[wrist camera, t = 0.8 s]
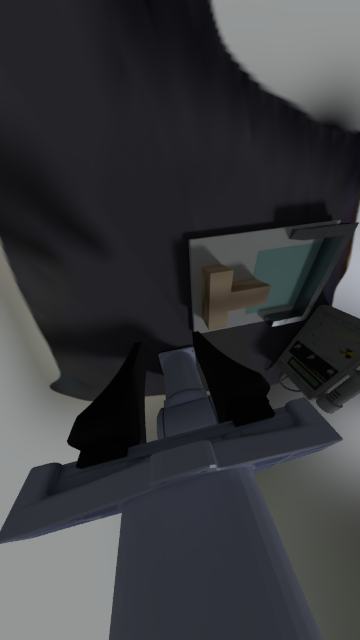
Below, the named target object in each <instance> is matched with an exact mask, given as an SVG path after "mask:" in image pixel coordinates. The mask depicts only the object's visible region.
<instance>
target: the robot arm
mask: <svg viewBox="0 0 360 640" xmlns="http://www.w3.org/2000/svg"><path fill="white" fill-rule="evenodd" d="M192 335H193V346H192V347H187V348H182V349H177V350H172V351H167V352H162V353H159V354H158V357H159V360H160V363H161V367H162V370H163V374H164V383H165V395H166V400H165V401H164V408H161V409H160V411H159V413H158V416H157V436H158V440H155V441H152V442H148V443H146V429H145V428H146V427H145V379H146V366H147V364H146V354H145V351H144V349H143V346H142V343H141V342H139V343H135V344H134V345H133V347H132V349H131V351H130V353H129V355H128V357H127V359H126V360H125V362H124V364H123V365H122V367H121V368H120V370H119V371H118V373H117V374H116V376H115V377H114V378H113V380H112V381H111V382H110V383H109V385H108V386H107V387H106V388H105V389H104V391H103V392H102V393H101V394H100V395H99V396H98V397H97V398H96V399H95V400H94V401H93V402H92V403H91V404H90V405H89V406H88V407H87V408H86V409H85V410H84V411H83V412H82V413H81V414H80V415H78V416H77V418H76V420H75V422H74V425H73V427H72V430H71V432H70V435H69V437H68V440H67V443H68V444H69V445H70V446H71V447H74V448H76V449H78V450H80V455H79V458H78V461H76V462H72V463H68V464H64V465H62V464H59V463H49V464H45V465H42V466H38V467H34V468H32V469H31V471H30V473H29V475H28V477H27V479H26V481H25V483H24V485H23V487H22V489H21V491H20V493H19V495H18V497H17V499H16V501H15V503H14V505H13V507H12V509H11V511H10V513H9V515H8V517H7V519H6V521H5V523H4V525H3V527H2V529H1V531H0V544H1V543H7V542H13V541H19V540H24V539H30V538H34V537H38V536H41V535H45V534H48V533H51V532H55V531H58V530H62V529H65V528H69V527H72V526H76V525H79V524H83V523H86V522H90V521H94V520H97V519H101V518H105V517H108V516H112V515H115V514H119V513H122V517H121V528H120V538H119V547H118V557H117V566H116V576H115V586H114V596H113V606H112V615H111V625H110V634H109V640H323V638H322V636H321V634H320V631H319V629H318V627H317V624H316V622H315V619H314V617H313V615H312V612H311V610H310V607H309V605H308V603H307V600H306V598H305V596H304V593H303V591H302V588H301V586H300V584H299V581H298V579H297V576H296V574H295V572H294V570H293V567H292V564H291V562H290V560H289V557H288V555H287V553H286V550H285V548H284V545H283V543H282V541H281V538H280V536H279V533H278V531H277V529H276V526H275V524H274V522H273V519H272V517H271V514H270V512H269V510H268V507H267V505H266V502H265V500H264V498H263V495H262V493H261V491H260V488H259V486H258V483H257V481H256V479H255V476H254V474H253V473H254V472H257V471H260V470H263V469H266V468H269V467H272V466H275V465H277V464H280V463H284V462H287V461H289V460H292V459H296V458H299V457H302V456H305V455H308V454H311V453H314V452H318V451H321V450H323V449H325V448H327V447H329V446H331V445H333V444H335V443H337V442H340V441H342V440H343V439H342V437H341V436H340V435H339V434H338V433H337V432H336V431H335V429H334V428H333V427H332V426H331V425H330V424H329V423H328V422H327V421H326V420H325V419H324V417H323V416H321V414H320V413H319V412H318V411H317V410H316V409H315V408H314V407H313V405H311V403H310V402H309V401H308V400H307V399H306V398H304V397H303V398H299V399H295V400H291V401H289V402H288V403H287V404H286V405H285V406H284V407H281V408H277V409H272V408H271V406H270V405H269V400H268V399H267V397H266V395H267V394H268V392H269V390H270V385H269V383H268V382H267V381H266V379H265V378H264V377H263V376H262V375H261V374H260V373H258V372H256V371H253V370H251V369H249V368H247V367H245V366H243V365H241V364H239V363H237V362H235V361H234V360H232V359H230V358H229V357H227V356H226V355H224V354H223V353H222V352H220V351H219V350H218V349H217V348H215V347H214V346H213V345H212V344H211V343H210V342H209V341H208V340H207V339H206V338H205V337H204V336H203V335H202V334H201V333H200V332H199V331H195V332H192ZM195 354H196V357H197V359H198V362H199V364H200V366H201V369H202V371H203V373H204V376H205V378H206V381H207V385H208V388H209V391H210V394H211V395H208V396H207V393H206V390H204V389H203V386H202V383H201V380H200V377H199V374H198V370H197V367H196V364H195ZM161 356H162V357H161ZM147 458H148V459H147ZM145 459H146V460H145Z"/></svg>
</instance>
